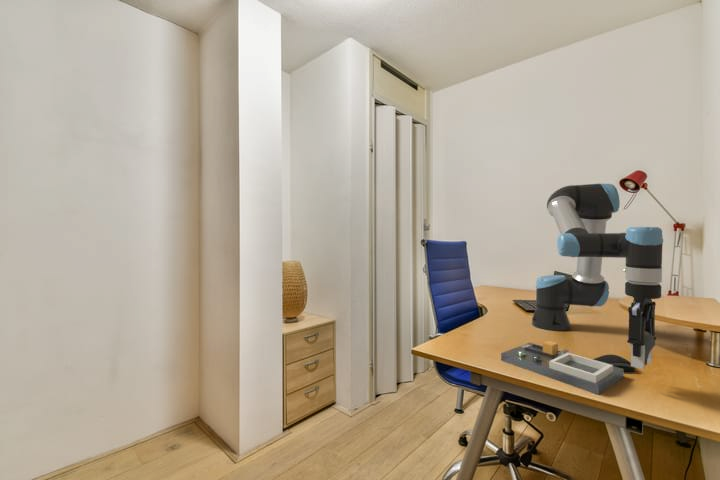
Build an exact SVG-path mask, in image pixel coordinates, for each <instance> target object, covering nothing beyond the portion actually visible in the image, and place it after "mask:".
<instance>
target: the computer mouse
mask: <svg viewBox="0 0 720 480" xmlns="http://www.w3.org/2000/svg"><path fill="white" fill-rule="evenodd" d="M591 359H592V358H591ZM592 360H596V361H600V362H603V363H607V364H610V365H613V366H614V367H618V368H622V369H624V374H626V373H634V372H636V367H633V366H631V361H630V360H628V359H626V358H624V357H623V356H620V355H617V354H603V355H601V356H598V357H595V358H593V359H592Z"/></svg>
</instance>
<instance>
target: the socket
mask: <svg viewBox="0 0 720 480" xmlns="http://www.w3.org/2000/svg"><path fill="white" fill-rule="evenodd" d="M568 361H573V362H577V363H580V364H583V365H587V366H590V367H593V368H597V369H600V370H598V371H597V372H595V373H590V372H587V371H583V370H580V369H577V368H574V367H571V366H567V365H564V363H566V362H568ZM549 368H552V369H555V370H558V371H561V372H564V373H567V374H570V375H573V376H576V377H579V378H582V379H585V380H588V381H591V382H594V383H597V382H598V381H600V380H602V379H603V378H605V377H606V376H608V375H609V374H611V373H612V372H613V365H610V364H607V363H603V362H600V361H596V360H592V358H588V357H584V356H581V355H577V354H574V353H570V352H569V353H566V354H564V355H561V356H559V357H557V358H555V359H553V360H551V361H549Z"/></svg>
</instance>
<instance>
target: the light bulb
mask: <svg viewBox="0 0 720 480" xmlns="http://www.w3.org/2000/svg"><path fill="white" fill-rule="evenodd" d="M654 337H655V336H652V335H651V334H650V333H648V332H646V331H645V333H644V342H643V343H644V345H645V364H644V366H647V364H648V363H647V359H648V355H649V353H650V351H651V350H652V351H653V348H654V347H655V346H656V340H655V339H654ZM629 344H630V345H631V343H629Z"/></svg>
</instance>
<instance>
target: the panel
mask: <svg viewBox="0 0 720 480" xmlns="http://www.w3.org/2000/svg"><path fill="white" fill-rule="evenodd" d="M569 351H570V350H569V349H566V348H565V349H563V350H558V354H556V355H551V354H548V353H544V352H543V345H540V344H536V343H532V342H528V343H525V344H522V345H519V346H517V347H513V348H511V349H509V350H506V351H503V352H501V353H500V356H501V357H500V360H501V361H502V362H504V363H508V364H510V365H514V366H516V367H519V368H522V369H524V370H528V371H531V372H533V373H536V374H539V375H541V376H544V377H547V378H549V379H550V378H551V380H552V379H553V380H556V381H559V382H561V383H563V384H567V385H569V386H572V387H576V388H578V389H581V390H584V391H586V392H590V393H592V394H596V395H598V396H600V395H601V394H603V392H605V391H606V390H608V389H610V388H611V387H612V386H614V385H615V384H616V383H618V382H619V381H620V380H623V379H624V374H625V373H624V369H622V368H618V367H614V366H613V372H612V373H611V374H609V375H608V376H606V377H605V378H603V379H602V380H600V381H598V382H597V383H594V382H591V381H588V380H585V379H582V378H579V377H576V376H573V375H570V374H567V373H564V372H561V371H558V370H555V369H552V368H549V361H551V360H553V359H555V358H557V357H559V356H561V355H564V354H566V353H570V352H569ZM564 365H567V366H571V367H574V368H577V369H580V370H583V371H587V372H590V373H595V372H597V371H598V370H600V369H597V368H593V367H590V366H587V365H583V364H580V363H577V362H573V361H568V362H566V363H564Z"/></svg>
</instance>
